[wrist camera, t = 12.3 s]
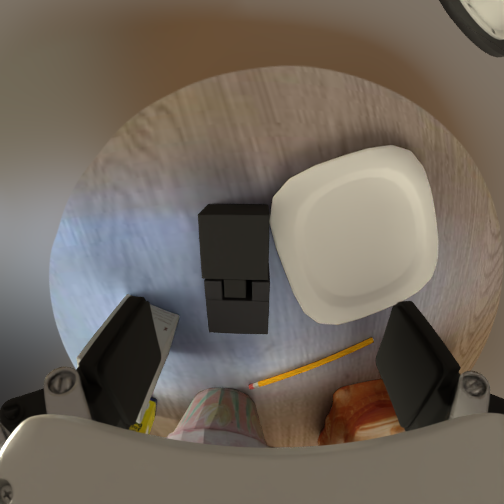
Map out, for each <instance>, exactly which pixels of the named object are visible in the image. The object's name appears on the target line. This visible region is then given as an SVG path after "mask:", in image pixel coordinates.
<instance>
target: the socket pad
mask: <svg viewBox="0 0 504 504" xmlns="http://www.w3.org/2000/svg"><path fill="white" fill-rule="evenodd" d="M204 284H205V296H206V306H207V317H208V327H209V332H214V333H236V334H268V317H269V292H270V276H269V263H268V280H248V282H247V291H246V298H234V297H225V295H224V279H205V280H204Z"/></svg>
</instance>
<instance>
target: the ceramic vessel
mask: <svg viewBox="0 0 504 504" xmlns="http://www.w3.org/2000/svg"><path fill="white" fill-rule="evenodd" d="M402 432H405V429H404V428H402V427H401V426H400V424H399V421H398V418H397V416H396V413H395V410H394V408H393V405H392V402H391V400H390V397H389V395H388V392H387V390H386V387H385V385H384V382H383V380H382V379H378V380H372V381H367V382H362V383H357V384H353V385H348V386H344V387H341V388H339V389H338V390H337V391H335V393H334V394H333V404H332V408H331V410H330V412H329V414H328V415H327V417H326V419H325V426H324V428H323V429H322V430H321V432H320V435H319V438H318V444H319V446H323V445H333V444H342V443H349V442H356V441H363V440H369V439H374V438H379V437H384V436H389V435H394V434H398V433H402Z"/></svg>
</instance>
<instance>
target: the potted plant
mask: <svg viewBox="0 0 504 504" xmlns="http://www.w3.org/2000/svg"><path fill="white" fill-rule="evenodd" d="M167 438H169V439H174V440H180V441H187V442H194V443H202V444H210V445H221V446H234V447H254V448H270V447H269V446H267V445H266V442H265V439H264V435H263V432H262V428H261V425H260V421H259V417H258V414H257V410H256V406H255V403H254V402H253V401H252V400H251V399H250V398H249V397H248V395H246V394H244V393H242V392H239V391H237V390H234V389H229V388H209V389H206V390H204V391H201V392H200V393H198V394H197V395H196V396H195V397H194V399H193V401H192V402H191V404H190V406H189V407H188V409H187V411H186V412H185V414H184V416H183V417H182V419H181V421H180V422H179V424H178V426H177V427H176V429H175V431H174V432H173V433H170V434H169V435H168V436H167Z"/></svg>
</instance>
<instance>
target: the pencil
mask: <svg viewBox="0 0 504 504" xmlns="http://www.w3.org/2000/svg"><path fill="white" fill-rule="evenodd" d="M373 342H374V341H373V338H372V337H371V338H369V339H367V340H365V341H363V342H360V343H358V344H356V345H354V346H352V347H349V348H347V349H345V350H343V351H340V352H338V353H336V354H333V355H331V356H328V357H326V358H324V359H321V360H319V361H316V362H313V363H311V364H308V365H306V366H303V367H300V368H298V369H295V370H292V371H289V372H286V373H284V374H281V375H278V376H275V377H272V378H269V379H266V380H262V381H259V382H256V383H253V384H249V388H250V389H254V388H258V387H261V386H264V385H267V384H270V383H274V382H277V381H280V380H283V379H286V378H288V377H291V376H294V375H297V374H300V373H302V372H305V371H308V370H311V369H313V368H316V367H318V366H321V365H323V364H326V363H328V362H331V361H333V360H336V359H338V358H340V357H343V356H345V355H347V354H350V353H352V352H354V351H356V350H359V349H361V348H363V347H365V346H367V345H369V344H371V343H373Z"/></svg>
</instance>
